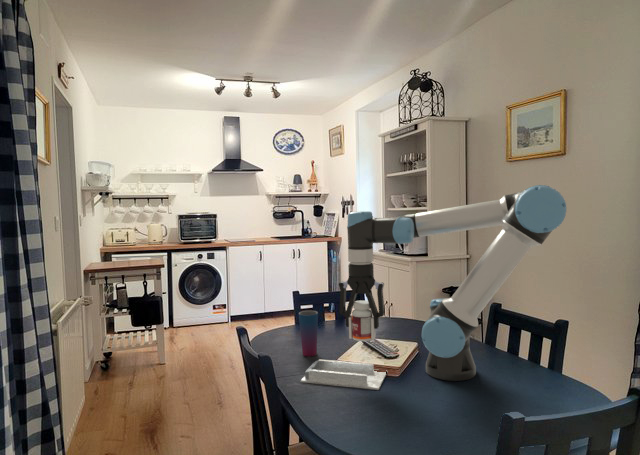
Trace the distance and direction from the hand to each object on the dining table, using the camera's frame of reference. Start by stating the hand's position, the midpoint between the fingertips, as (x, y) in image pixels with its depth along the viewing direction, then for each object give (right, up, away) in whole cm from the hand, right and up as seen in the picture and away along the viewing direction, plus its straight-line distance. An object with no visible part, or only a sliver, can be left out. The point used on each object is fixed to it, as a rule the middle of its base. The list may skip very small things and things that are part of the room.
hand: (362, 337), depth 141 cm
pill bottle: (0, -1, 0) cm, 1 cm away
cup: (-17, -12, +25) cm, 33 cm away
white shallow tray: (-5, -13, +3) cm, 14 cm away
